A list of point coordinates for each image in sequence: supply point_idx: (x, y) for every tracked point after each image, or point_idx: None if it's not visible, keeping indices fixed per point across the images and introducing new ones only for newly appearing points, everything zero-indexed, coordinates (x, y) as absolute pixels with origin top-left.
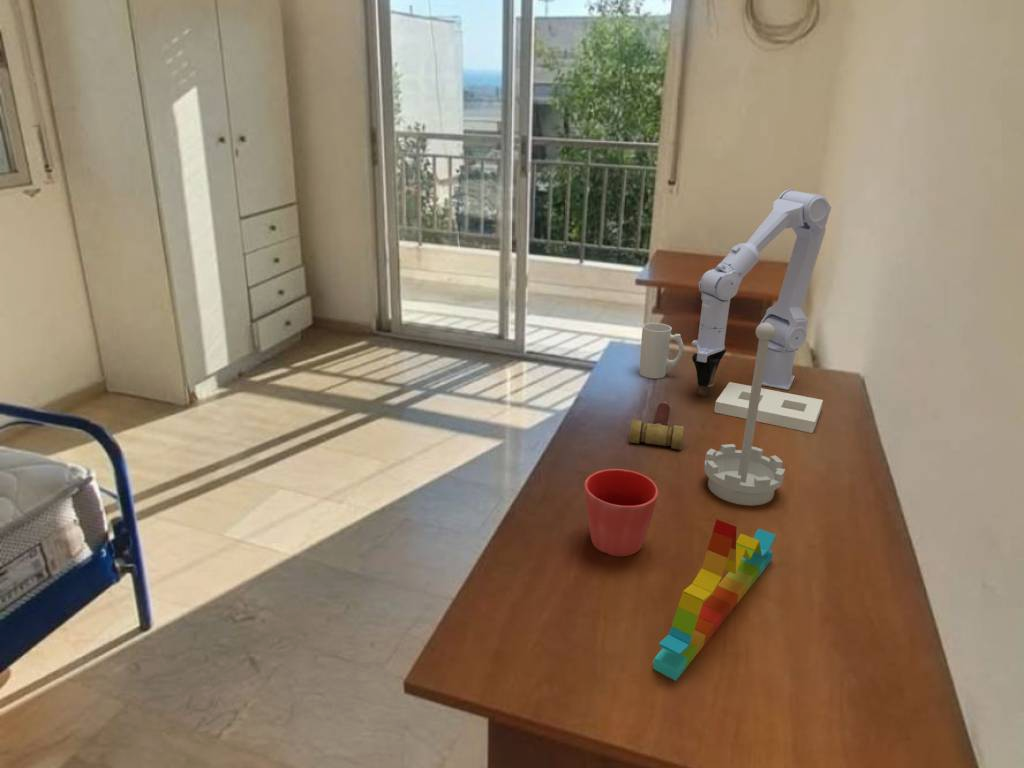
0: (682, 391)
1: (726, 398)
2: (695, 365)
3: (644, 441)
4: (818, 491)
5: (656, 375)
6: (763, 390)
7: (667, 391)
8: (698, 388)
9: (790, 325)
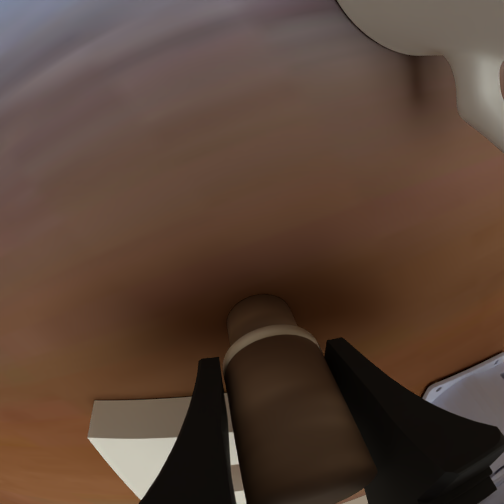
0: (227, 219)
1: (151, 454)
2: (154, 484)
3: None
4: (8, 498)
5: (351, 5)
6: None
7: (168, 140)
8: (249, 318)
9: None
